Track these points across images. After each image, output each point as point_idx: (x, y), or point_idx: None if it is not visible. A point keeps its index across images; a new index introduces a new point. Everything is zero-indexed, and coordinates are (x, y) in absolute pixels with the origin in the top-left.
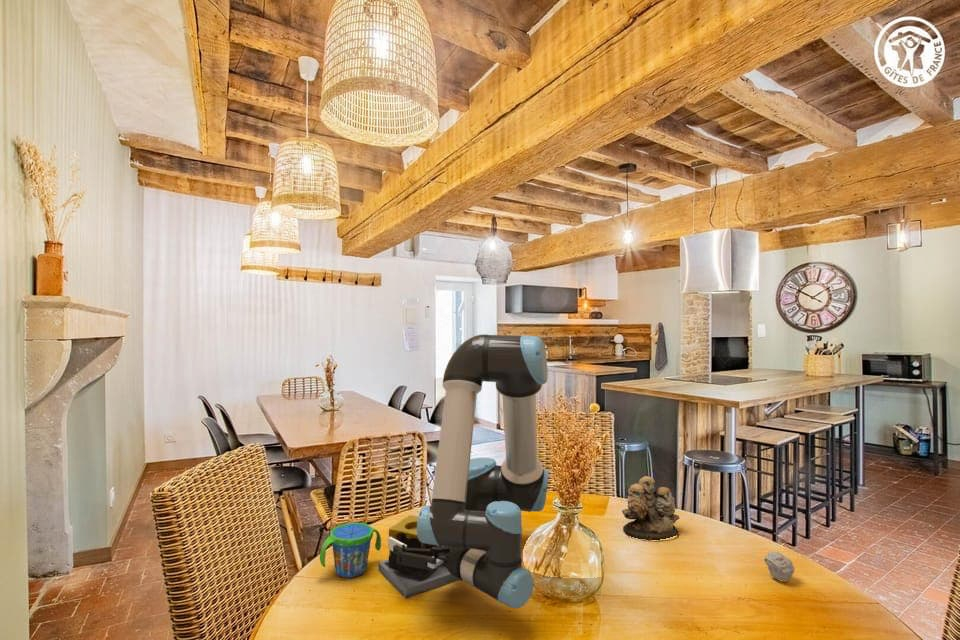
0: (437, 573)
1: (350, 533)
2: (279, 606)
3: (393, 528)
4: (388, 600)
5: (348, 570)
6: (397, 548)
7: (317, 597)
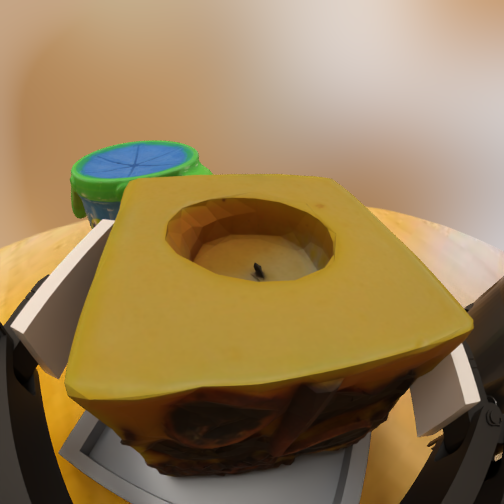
0: (277, 485)
1: (136, 162)
2: (14, 245)
3: (137, 185)
4: (47, 413)
5: None
6: (24, 303)
7: (36, 268)
